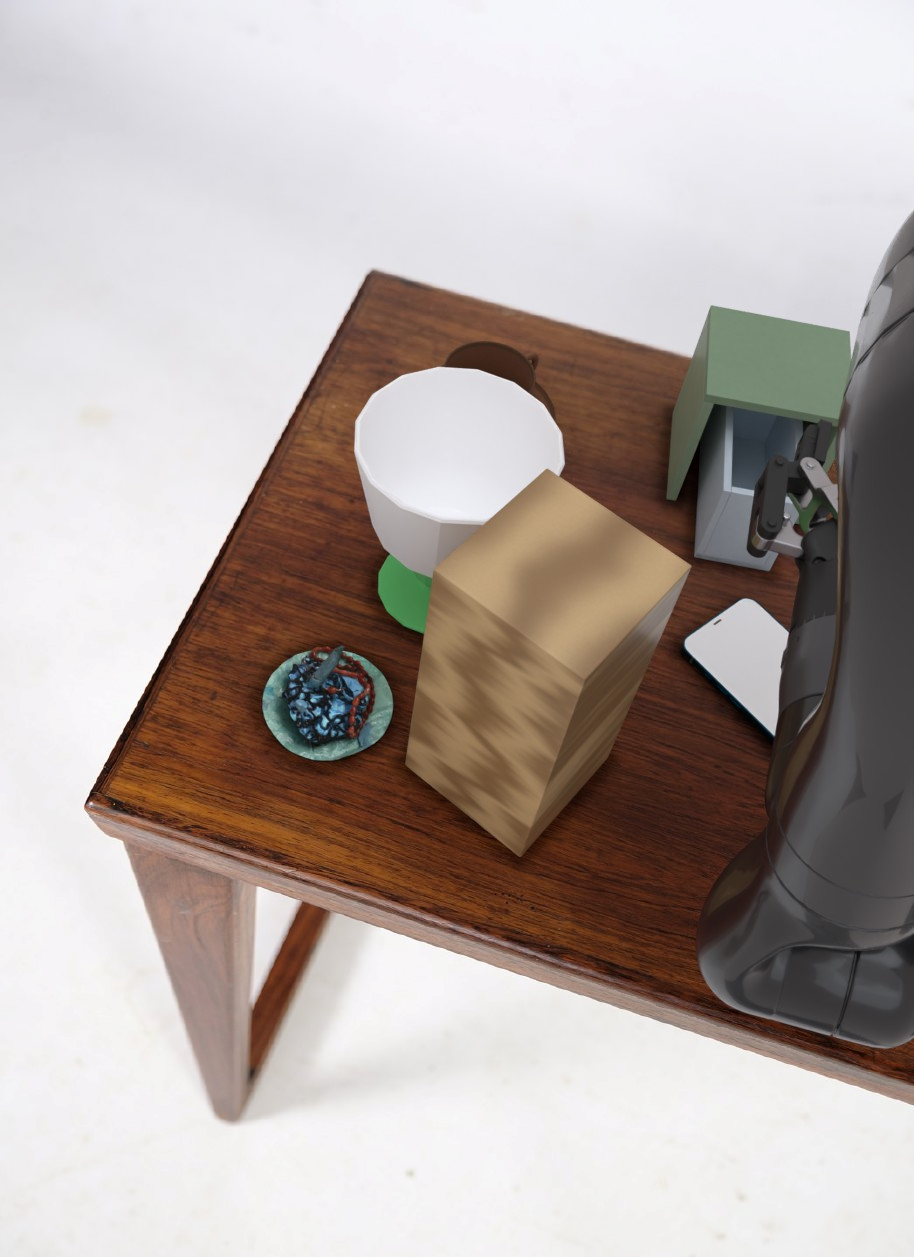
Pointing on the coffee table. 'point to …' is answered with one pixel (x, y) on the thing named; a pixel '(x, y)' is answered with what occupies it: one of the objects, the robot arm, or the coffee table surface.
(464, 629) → the stand
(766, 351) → the cabinet
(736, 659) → the smartphone
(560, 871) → the coffee table surface
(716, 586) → the coffee table surface
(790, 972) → the robot arm
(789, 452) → the bin
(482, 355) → the cup and saucer
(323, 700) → the dish
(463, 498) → the cup
